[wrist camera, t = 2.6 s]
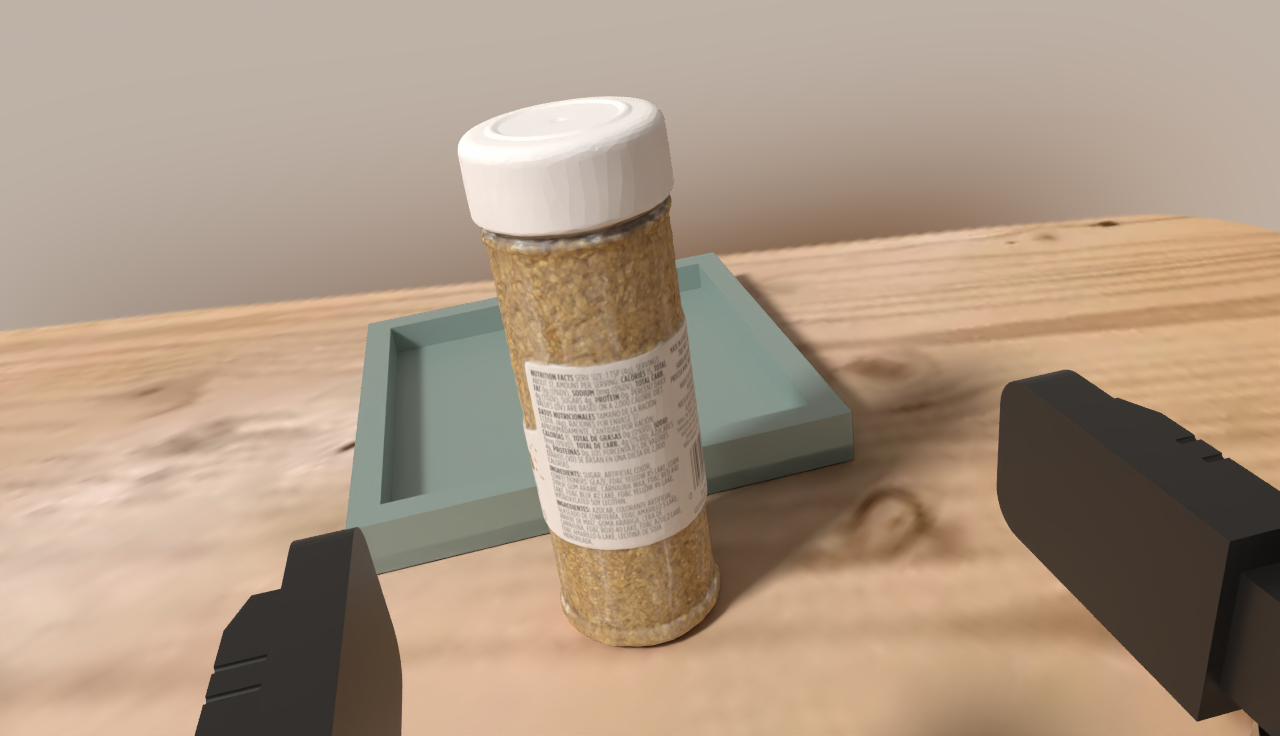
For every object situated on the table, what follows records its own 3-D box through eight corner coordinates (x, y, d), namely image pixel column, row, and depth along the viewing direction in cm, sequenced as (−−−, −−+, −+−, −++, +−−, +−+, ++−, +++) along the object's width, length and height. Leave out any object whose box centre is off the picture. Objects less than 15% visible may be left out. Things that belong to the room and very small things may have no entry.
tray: (717, 287, 45) (713, 252, 44) (854, 459, 31) (851, 412, 30) (379, 359, 43) (368, 324, 42) (361, 578, 29) (345, 530, 28)
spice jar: (590, 541, 29) (501, 98, 23) (737, 550, 28) (684, 83, 22) (538, 650, 25) (415, 153, 19) (706, 665, 24) (632, 137, 18)
